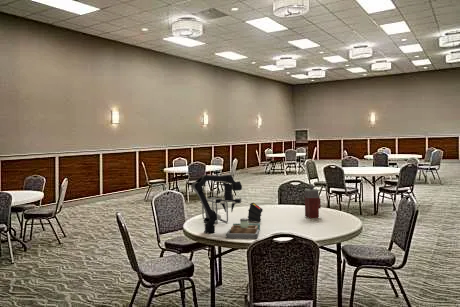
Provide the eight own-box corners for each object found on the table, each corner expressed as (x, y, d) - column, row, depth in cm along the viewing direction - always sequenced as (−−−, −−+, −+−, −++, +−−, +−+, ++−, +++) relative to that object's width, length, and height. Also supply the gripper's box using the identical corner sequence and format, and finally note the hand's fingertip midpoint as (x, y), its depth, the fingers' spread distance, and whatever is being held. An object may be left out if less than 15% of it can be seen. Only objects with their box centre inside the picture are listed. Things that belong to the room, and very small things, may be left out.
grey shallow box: (226, 238, 273) (226, 233, 273) (229, 233, 286) (229, 229, 286) (257, 238, 269) (256, 234, 269) (259, 233, 282) (259, 229, 282)
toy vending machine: (321, 217, 334) (321, 184, 333) (308, 218, 332) (308, 184, 331) (317, 215, 342) (316, 183, 341) (305, 216, 341) (304, 183, 340)
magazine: (247, 217, 333) (253, 202, 328) (259, 226, 325) (264, 210, 320) (244, 218, 330) (250, 202, 325) (256, 227, 322) (262, 211, 317)
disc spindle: (239, 232, 283) (239, 219, 283) (241, 230, 289) (241, 218, 288) (247, 232, 281) (246, 220, 281) (249, 230, 287) (249, 218, 286)
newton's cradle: (228, 223, 322) (227, 201, 321) (216, 224, 317) (215, 202, 317) (213, 216, 349) (212, 196, 348) (202, 218, 344) (201, 197, 344)
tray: (229, 234, 282) (229, 228, 282) (233, 229, 297) (233, 223, 297) (257, 234, 278) (257, 228, 278) (260, 229, 294) (259, 223, 293)
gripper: (242, 189, 303) (242, 210, 304) (218, 190, 307) (218, 210, 307) (239, 191, 292) (240, 213, 293) (215, 192, 296) (215, 212, 296)
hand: (228, 212), depth 298 cm, fingers open, 4 cm apart
